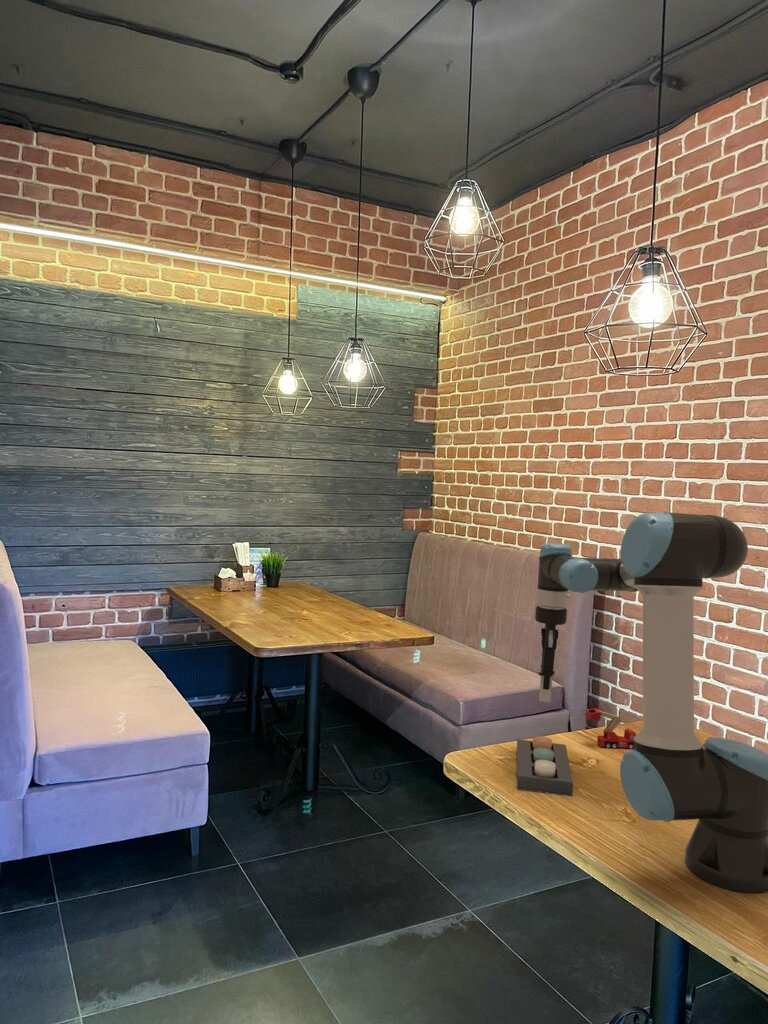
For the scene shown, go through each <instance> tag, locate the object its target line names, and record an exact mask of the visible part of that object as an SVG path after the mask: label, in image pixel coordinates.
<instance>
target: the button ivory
mask: <svg viewBox="0 0 768 1024" xmlns="http://www.w3.org/2000/svg"><path fill="white" fill-rule="evenodd" d="M555 768H556V764H555V763H554V762H551V761H548V760H537V761H535V769H534V776H540V777H549V778H555Z"/></svg>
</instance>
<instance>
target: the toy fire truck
mask: <svg viewBox="0 0 768 1024" xmlns="http://www.w3.org/2000/svg"><path fill="white" fill-rule="evenodd" d="M585 717H586V719H588V721H595V722H599V721H600V719H601V717H604V718H606V719H610V721H609V722H608V724H607V725H606V726H605V728H604V729H603V735H597V737H596V738H597V740H596V741H597V744H598V745H599V746H600V747H603V748H604V747H605V748H606V749H610V748H612V749H617V747H618V748H627V749H630V750H634V737H635V736H636V735H637V733H636V732H635V731H634V730H632V729H631V728H630V729H629V728H625V729H624V733H623V736H621V735H620V736H619V735H618V734H617V733H616V732H614V730H615V728H617V727H618V726H619V725H620V724H621V723H622V722H623V720H622V719H621V718H620V717H619V716H618V715H617V714H612V713H609V712H606V711H602V710H599V709H598V708H597V707H594V708H589V709H586V710H585Z"/></svg>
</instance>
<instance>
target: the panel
mask: <svg viewBox="0 0 768 1024" xmlns="http://www.w3.org/2000/svg"><path fill="white" fill-rule="evenodd" d="M532 746H533V740H529V739H528V740H526V739H520V738H519V739H518V738H517V739H516V750H515V751H516V789H517V790H521V789H526V790H525V791H529V790H534V791H533V792H537V791H541V792H540V793H545V792H548V794H553V793H555V795H563V796H570V797H573V793H574V792H573V791H574V790H573V789H574V779H573V774H572V770H571V764H570V760H569V754H568V749H567V744H562V743H555V742H554V743H553V742H552V748H551V750H552V751H553V752H554V756H553V762H554V763H555V764H556V768H555V778H549V777H540V776H534V769H535V763H533V757H534V751H533V750H532Z"/></svg>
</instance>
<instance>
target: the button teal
mask: <svg viewBox="0 0 768 1024" xmlns="http://www.w3.org/2000/svg"><path fill="white" fill-rule="evenodd" d="M553 756H554V752H553V751H552V750H551V749H548V748H535V749H534V757H533V763H535V761H537V760H548V761H551V762H553Z"/></svg>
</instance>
